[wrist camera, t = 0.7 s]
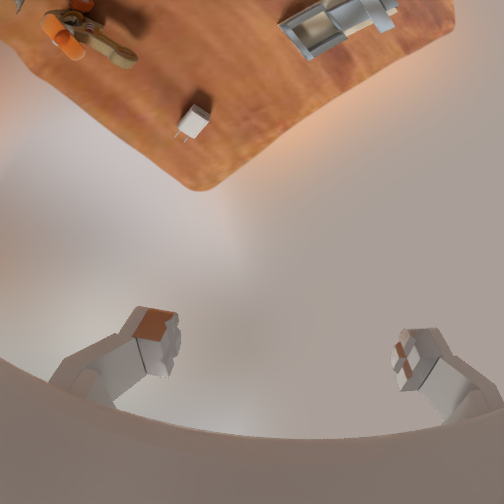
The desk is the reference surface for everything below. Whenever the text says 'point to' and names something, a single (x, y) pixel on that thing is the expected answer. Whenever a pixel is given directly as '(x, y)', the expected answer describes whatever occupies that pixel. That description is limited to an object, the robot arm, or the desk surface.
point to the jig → (335, 23)
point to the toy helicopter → (83, 34)
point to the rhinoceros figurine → (19, 4)
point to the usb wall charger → (193, 121)
